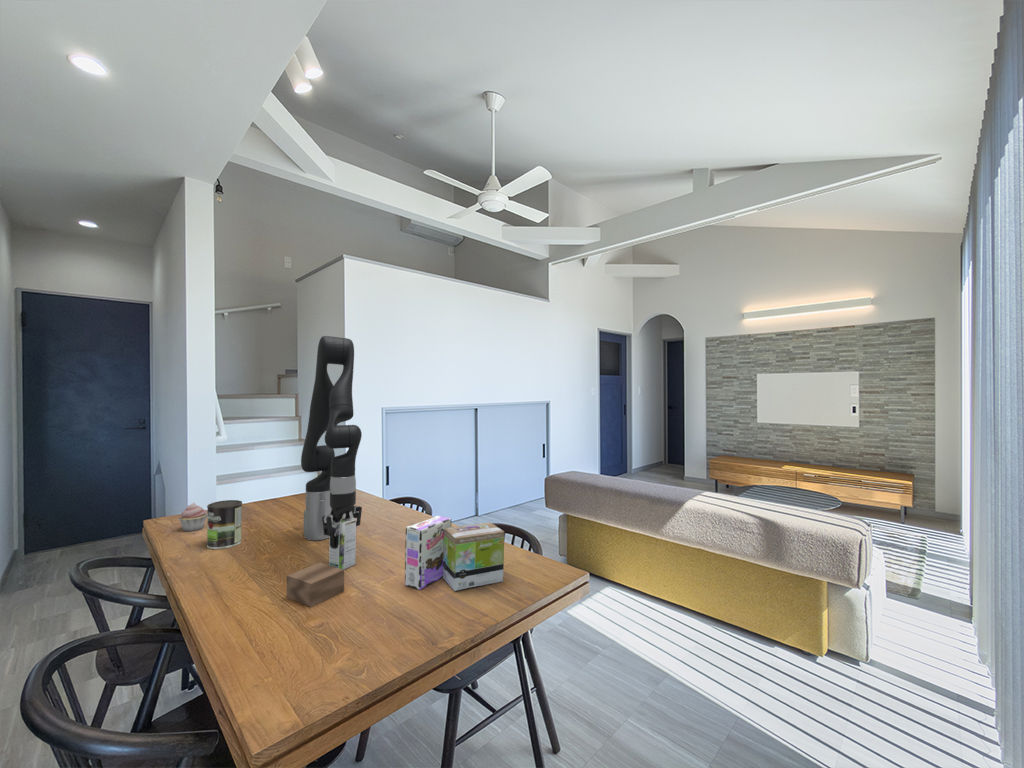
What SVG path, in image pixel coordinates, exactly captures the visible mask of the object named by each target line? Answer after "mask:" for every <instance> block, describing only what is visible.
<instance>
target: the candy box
mask: <svg viewBox="0 0 1024 768" xmlns="http://www.w3.org/2000/svg"><path fill="white" fill-rule="evenodd" d="M451 527H452V518H451V517H446V516H441V515H435V516H433V517H430V518H428V519H424V520H423V521H420V522H416V523H414V524H411V525H407V526H405V547H404V548H405V553H404V555H405V556H404V557H405V558H404V585H405V586H407V587H411V588H413V589H416V590H422V589H424V588H426V587H427V586H429V585H431V584H433V583H434V582H437V581H439V580H441V579H443V553H444V529H445V528H451Z"/></svg>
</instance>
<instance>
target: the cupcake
mask: <svg viewBox="0 0 1024 768" xmlns="http://www.w3.org/2000/svg"><path fill="white" fill-rule="evenodd" d="M206 519H208V513H207V511H206V509H204V508H203V507H202V506H200V505H197V504H196V503H195V502H193V503H190V504H189V505H187V506H186V508H185V509H184V510H183V511H181V515H180V517H178V520H179V522H180V525H181V528H182V531H183V532H195V531H199V530H202V529H203V528H204V525H205V522H206Z"/></svg>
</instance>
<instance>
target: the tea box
mask: <svg viewBox="0 0 1024 768" xmlns="http://www.w3.org/2000/svg"><path fill="white" fill-rule="evenodd" d="M504 561H505V531H504V530H502V529H501V528H500V527H498V526H497V525H496V524H494V523H492V522H490V521H489V522H483V523H482V522H481V523H476V524H475V523H474V524H468V525H461V526H459V525H458V526H454V527H453V526H451V528H445V529H444V553H443V577H442V579H443V580H444V581H445V583H447V585H449V587H450V588H451V589H452V590H453V591H454V592H457V591H461V590H465V589H469V588H475V587H481V586H487V585H491V584H497V583H501V582H504V570H505V568H504V566H505V563H504Z"/></svg>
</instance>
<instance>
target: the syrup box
mask: <svg viewBox="0 0 1024 768" xmlns="http://www.w3.org/2000/svg"><path fill="white" fill-rule="evenodd" d="M356 521H357V518H351V519H350V518H348V519H345V520H344V521H341V522H340V528H339V532H338V535H337V536H338V548H336V549H333V548H331V547H330V537H329V538H328V539H329V545H328V546H329V547H328V549H329V550H328V551H329V552H328V565H330V566H333V567H336V568H339V569H343V570H344V571H345V570H346V569H348V568H351V567H353V566H355V565H356V554H357V553H356V551H357V550H356V547H357V540H356V539H357V527H356ZM338 523H339V522H338ZM338 523H336V522H334V521H333V524H334V525H338ZM334 531H335V528H334Z"/></svg>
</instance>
